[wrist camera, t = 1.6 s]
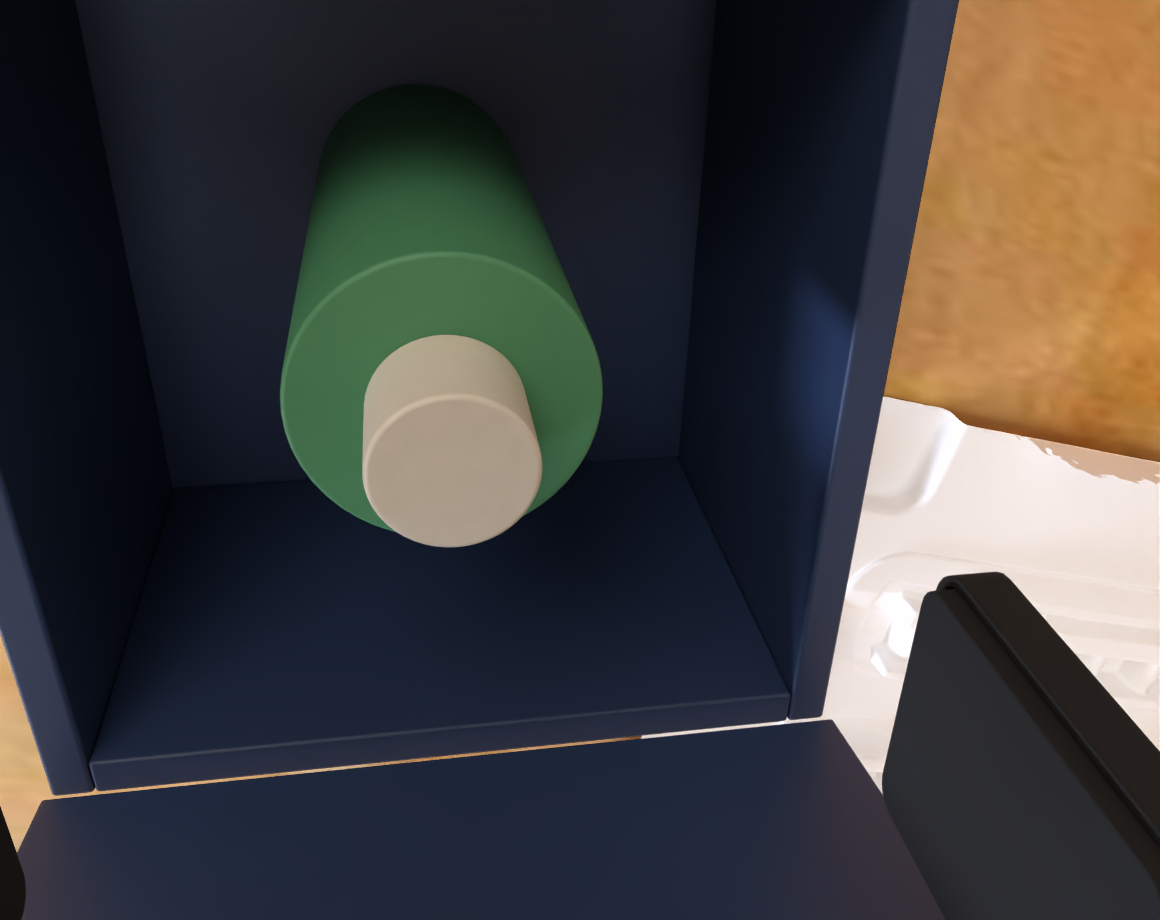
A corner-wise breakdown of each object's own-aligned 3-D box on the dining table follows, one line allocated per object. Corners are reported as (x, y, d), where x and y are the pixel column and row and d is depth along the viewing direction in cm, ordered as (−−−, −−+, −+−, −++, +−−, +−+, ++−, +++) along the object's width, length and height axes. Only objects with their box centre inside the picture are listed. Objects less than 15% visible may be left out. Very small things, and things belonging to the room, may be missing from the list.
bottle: (307, 83, 24) (243, 315, 13) (518, 82, 25) (639, 300, 13) (327, 284, 26) (288, 631, 15) (519, 277, 27) (622, 603, 16)
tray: (1172, 886, 48) (1226, 961, 44) (576, 832, 41) (590, 916, 38) (1465, 508, 38) (1560, 567, 35) (758, 358, 32) (795, 414, 28)
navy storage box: (16, -147, 22) (-251, -131, 12) (750, -129, 24) (981, -104, 15) (152, 498, 30) (51, 798, 20) (695, 463, 32) (823, 719, 23)
